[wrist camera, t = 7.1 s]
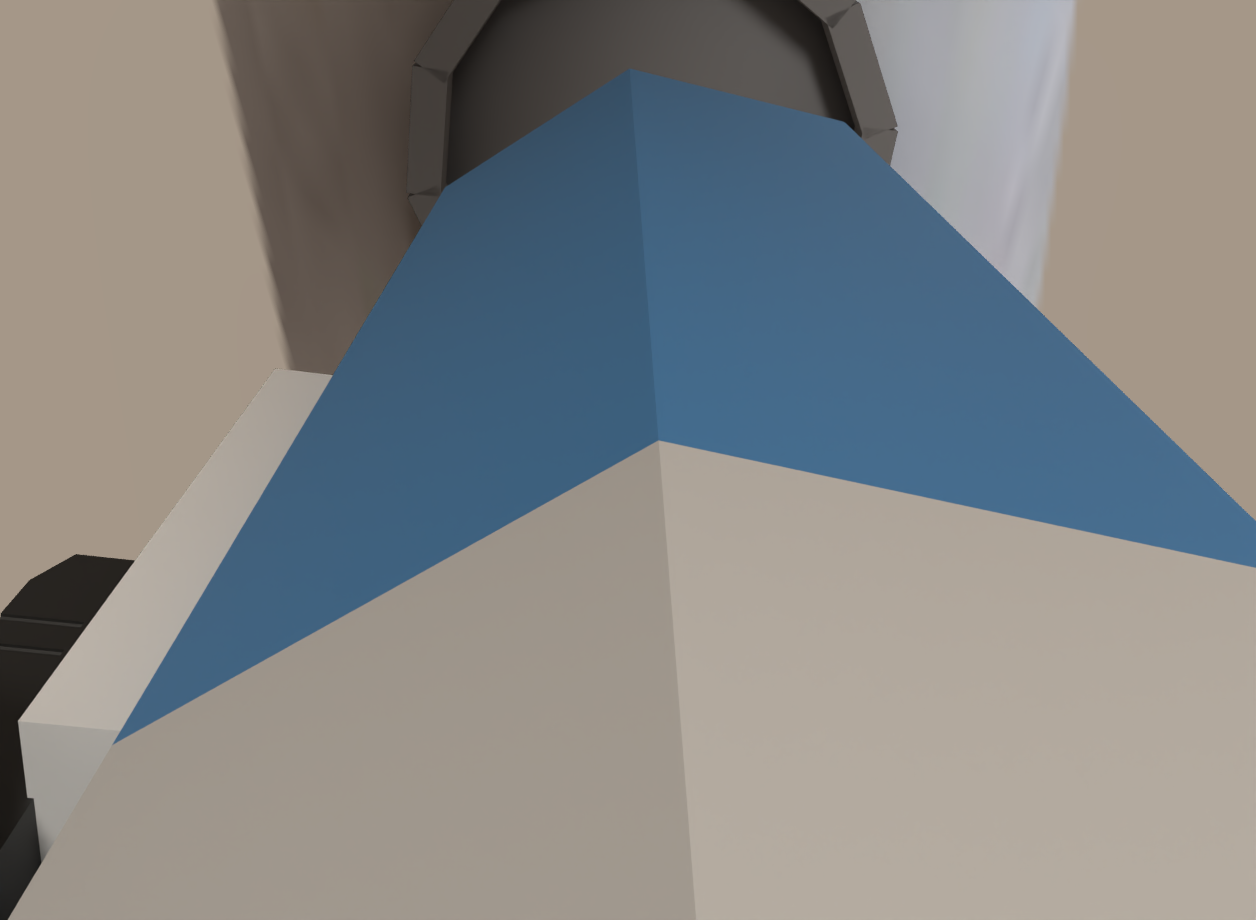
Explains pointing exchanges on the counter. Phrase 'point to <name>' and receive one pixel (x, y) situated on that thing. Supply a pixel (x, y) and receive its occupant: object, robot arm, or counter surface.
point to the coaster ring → (611, 44)
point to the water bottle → (699, 582)
